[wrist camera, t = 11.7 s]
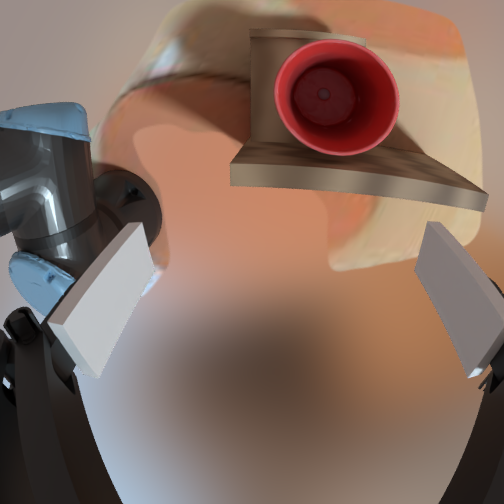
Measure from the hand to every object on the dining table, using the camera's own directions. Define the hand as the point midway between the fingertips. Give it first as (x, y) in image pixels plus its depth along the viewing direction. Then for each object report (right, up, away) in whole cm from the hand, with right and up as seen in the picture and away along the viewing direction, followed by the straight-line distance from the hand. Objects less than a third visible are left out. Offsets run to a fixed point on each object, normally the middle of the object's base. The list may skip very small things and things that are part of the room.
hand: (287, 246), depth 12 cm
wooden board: (+11, +14, +23) cm, 29 cm away
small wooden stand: (+5, +21, +20) cm, 29 cm away
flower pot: (+7, +18, +16) cm, 25 cm away
